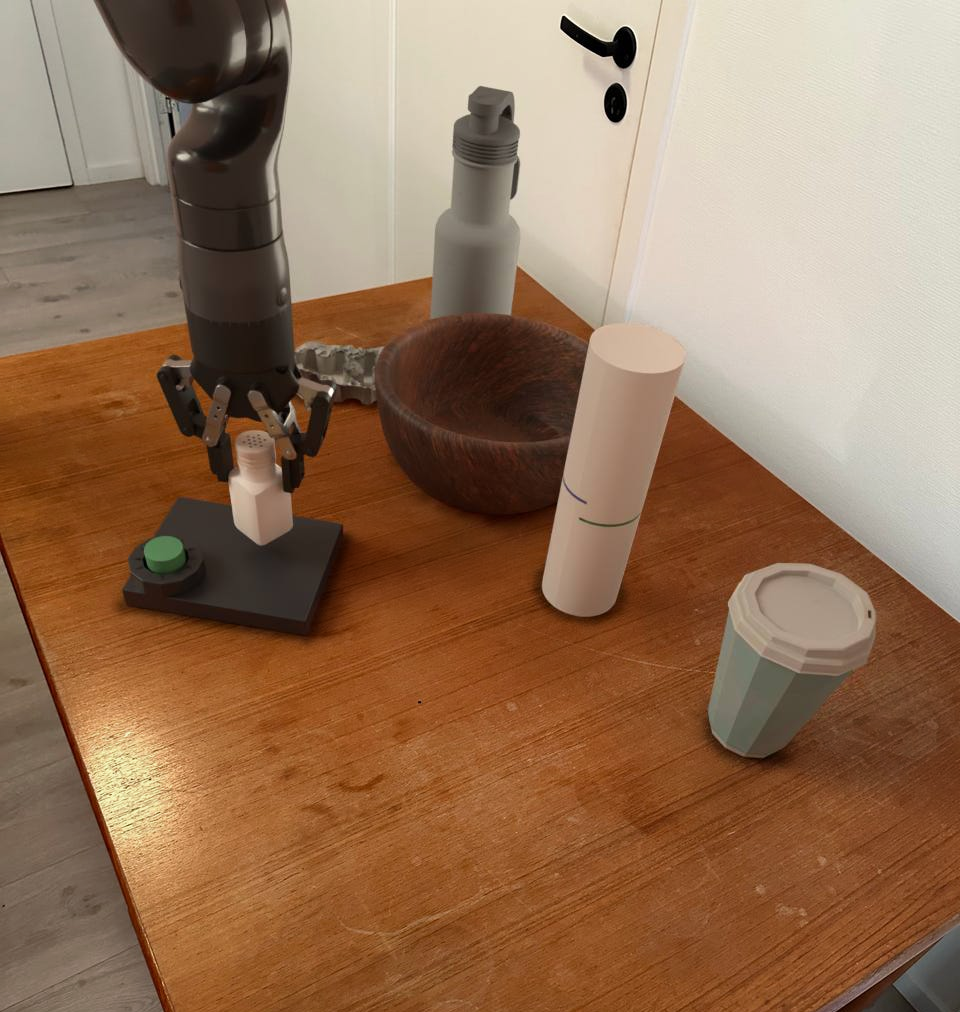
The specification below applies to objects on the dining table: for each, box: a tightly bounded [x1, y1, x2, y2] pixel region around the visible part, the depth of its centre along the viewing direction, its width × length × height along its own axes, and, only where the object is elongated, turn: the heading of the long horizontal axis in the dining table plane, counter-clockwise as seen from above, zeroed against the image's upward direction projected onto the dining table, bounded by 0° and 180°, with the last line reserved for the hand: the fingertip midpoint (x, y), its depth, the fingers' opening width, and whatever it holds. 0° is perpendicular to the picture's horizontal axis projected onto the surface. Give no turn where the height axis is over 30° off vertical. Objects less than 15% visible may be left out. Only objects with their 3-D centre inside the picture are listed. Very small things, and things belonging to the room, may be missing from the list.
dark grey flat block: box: [121, 496, 344, 637], centre depth 81 cm, size 16×13×4 cm
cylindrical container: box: [541, 321, 687, 618], centre depth 75 cm, size 7×7×25 cm
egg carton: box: [295, 340, 385, 406], centre depth 102 cm, size 11×8×4 cm
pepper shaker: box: [227, 429, 293, 545], centre depth 77 cm, size 4×4×10 cm
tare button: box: [144, 536, 186, 574], centre depth 77 cm, size 3×3×2 cm
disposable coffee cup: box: [707, 562, 877, 759], centre depth 70 cm, size 11×11×15 cm
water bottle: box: [429, 85, 521, 320], centre depth 102 cm, size 10×10×28 cm
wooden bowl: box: [374, 313, 589, 515], centre depth 93 cm, size 25×25×10 cm
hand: (258, 481), depth 77 cm, fingers closed on pepper shaker, 5 cm apart
